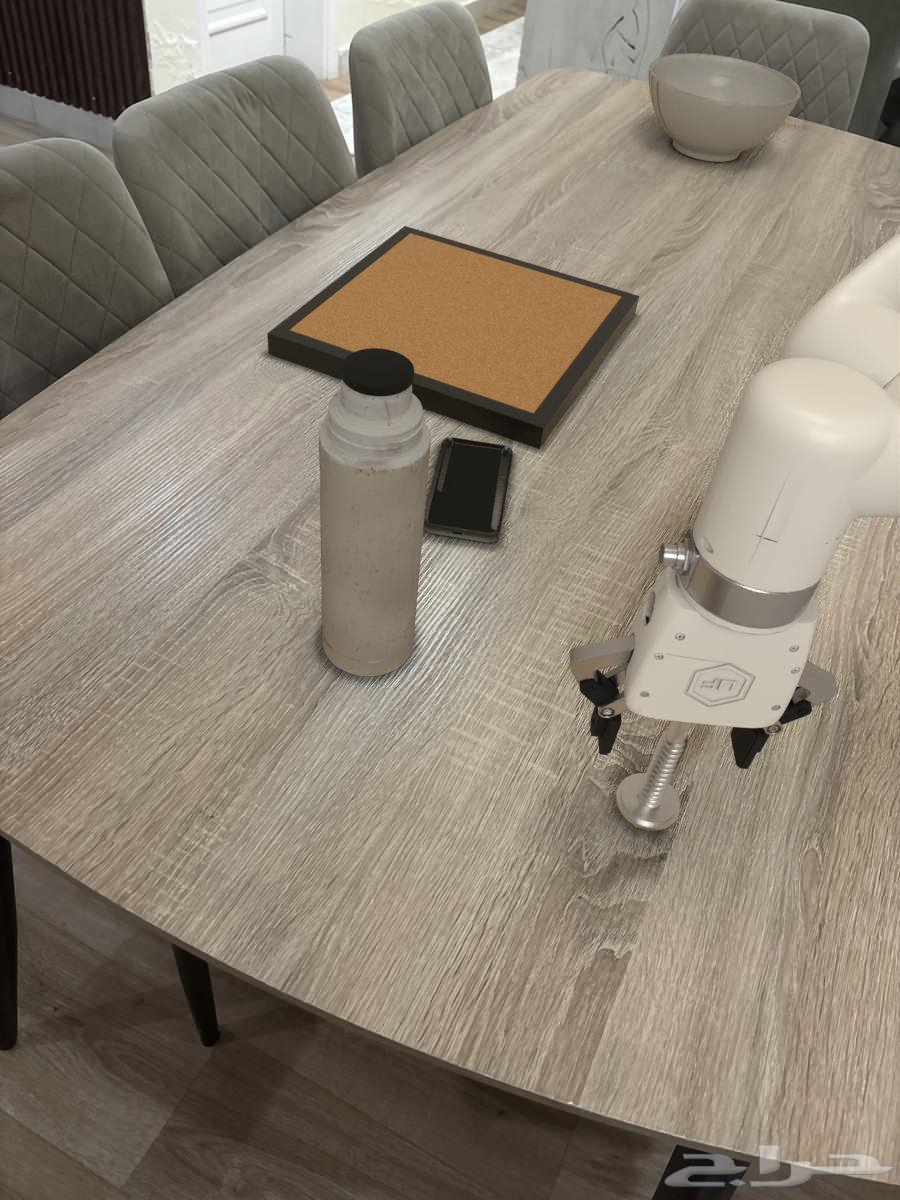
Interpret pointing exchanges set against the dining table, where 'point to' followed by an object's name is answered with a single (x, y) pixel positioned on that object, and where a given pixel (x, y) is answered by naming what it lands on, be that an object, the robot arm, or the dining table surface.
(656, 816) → the screw
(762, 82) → the decorative bowl
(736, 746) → the robot arm
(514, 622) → the dining table surface
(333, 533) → the thermos bottle
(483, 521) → the phone
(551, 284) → the cork board
